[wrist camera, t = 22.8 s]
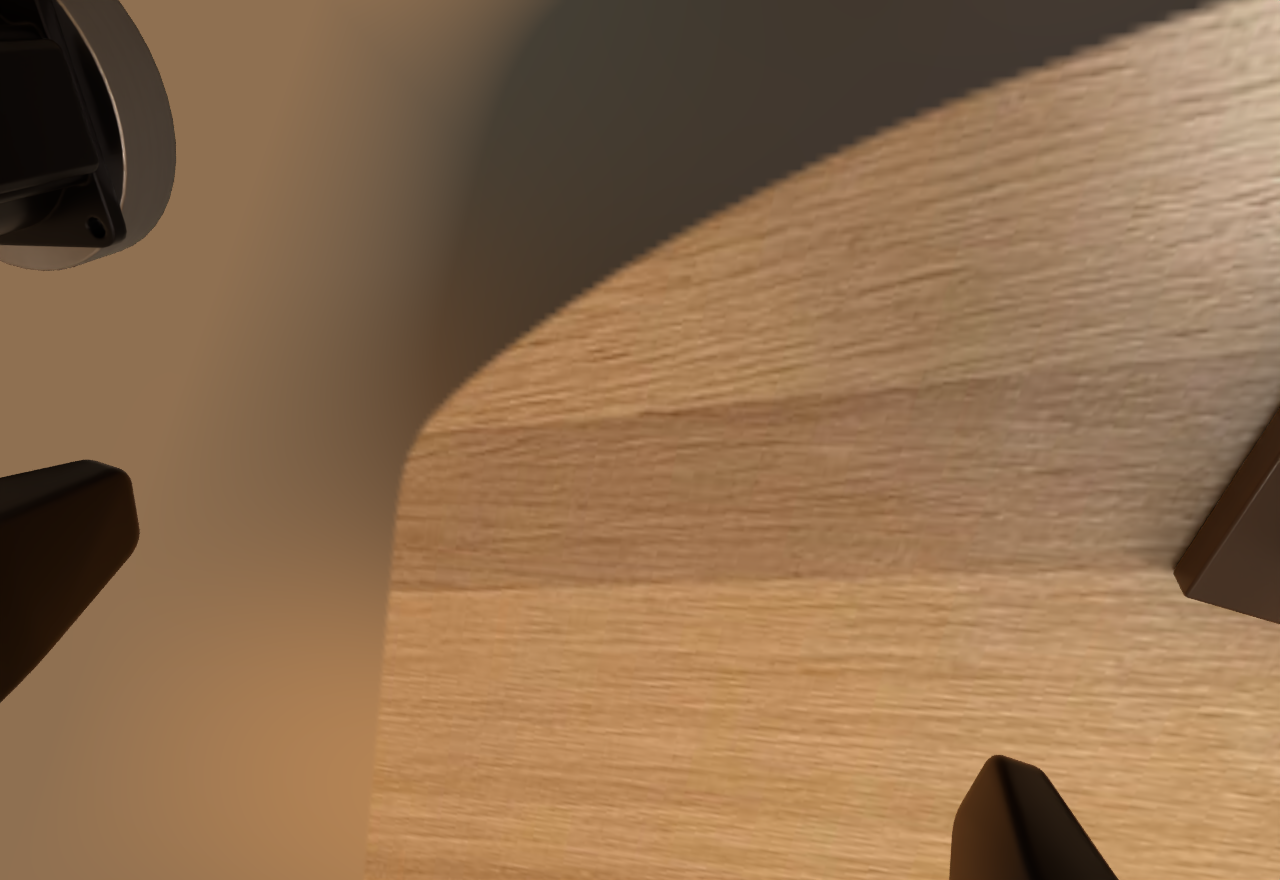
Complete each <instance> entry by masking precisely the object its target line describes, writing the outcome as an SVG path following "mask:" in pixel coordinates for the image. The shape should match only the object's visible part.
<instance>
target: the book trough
mask: <svg viewBox="0 0 1280 880" xmlns="http://www.w3.org/2000/svg"><path fill="white" fill-rule="evenodd" d="M1174 576H1175V578H1176V580H1177V582H1178V584H1179V586H1180V588H1181V590H1182V592H1183V594H1184V595H1185V596H1186V597H1188V598H1191V599H1195V600H1198V601H1201V602H1205V603H1208V604H1212V605H1215V606H1219V607H1222V608H1226V609H1229V610H1233V611H1236V612H1239V613H1243V614H1246V615H1250V616H1253V617H1257V618H1260V619H1264V620H1267V621H1271V622H1274V623H1277V624H1280V408H1279V409H1278V411H1277V412H1276V414H1275V415H1274V417H1273V419H1272V420H1271V422H1270V423H1269V425H1268V426H1267V428H1266V429H1265V431H1264V432H1263V434H1262V435H1261V437H1260V439H1259V440H1258V442H1257V443H1256V445H1255V446H1254V448H1253V449H1252V451H1251V452H1250V454H1249V456H1248V457H1247V459H1246V460H1245V462H1244V463H1243V465H1242V466H1241V468H1240V469H1239V471H1238V472H1237V474H1236V476H1235V477H1234V479H1233V480H1232V482H1231V483H1230V485H1229V486H1228V488H1227V489H1226V491H1225V492H1224V494H1223V496H1222V497H1221V499H1220V500H1219V502H1218V503H1217V505H1216V506H1215V508H1214V509H1213V511H1212V513H1211V514H1210V516H1209V517H1208V519H1207V520H1206V522H1205V523H1204V525H1203V526H1202V528H1201V529H1200V531H1199V533H1198V534H1197V536H1196V537H1195V539H1194V540H1193V542H1192V543H1191V545H1190V546H1189V548H1188V550H1187V551H1186V553H1185V554H1184V556H1183V557H1182V559H1181V560H1180V562H1179V563H1178V565H1177V566H1176V568H1175V570H1174Z"/></svg>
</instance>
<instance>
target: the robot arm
mask: <svg viewBox="0 0 1280 880" xmlns="http://www.w3.org/2000/svg"><path fill="white" fill-rule="evenodd" d="M100 221H101V222H102V224H103V226H104V227H105V230H104V229H103V227H102V225H101V222H100ZM126 233H127V230H126V224H125V221H124V218H123V215H122V212H121V209H120V206H119V203H118V200H117V197H116V193H115V190H114V187H113V184H112V181H111V178H110V175H109V172H108V169H107V166H106V163H105V160H104V157H103V154H102V151H101V148H100V145H99V142H98V139H97V136H96V133H95V130H94V127H93V124H92V121H91V117H90V114H89V111H88V108H87V105H86V102H85V99H84V96H83V93H82V90H81V87H80V84H79V81H78V78H77V75H76V72H75V69H74V66H73V63H72V60H71V57H70V54H69V51H68V48H67V45H66V41H65V38H64V35H63V32H62V29H61V26H60V23H59V20H58V17H57V14H56V11H55V8H54V5H53V2H52V0H0V245H14V246H51V247H87V248H105V247H109V246H112V245H115V244H118V243H121V242H122V241H123V240H124V239H125V238H126ZM139 534H140V533H139V523H138V518H137V512H136V506H135V499H134V494H133V488H132V482H131V480H130V477H129V476H128V475H127V473H126V472H124V471H123V470H122V469H119V468H116V467H113V466H110V465H107V464H104V463H101V462H98V461H93V460H81V461H75V462H70V463H66V464H62V465H57V466H52V467H48V468H43V469H38V470H34V471H29V472H24V473H20V474H15V475H11V476H6V477H2V478H0V702H2V701H3V699H5V697H6V696H8V694H10V693H11V692H12V691H13V690H14V689H15V688H16V687H17V686H18V685H19V684H20V683H21V682H22V681H23V679H24V678H25V677H26V676H27V675H28V674H29V673H30V672H31V671H32V670H33V669H34V668H35V667H36V666H37V665H38V664H39V663H40V661H41V660H42V659H43V658H44V657H45V656H46V655H47V653H48V652H49V651H50V650H51V649H52V648H53V647H54V645H55V644H56V643H57V642H58V641H59V640H60V638H61V637H62V636H63V635H64V634H65V632H66V631H67V630H68V629H69V628H70V626H71V625H72V624H73V623H74V622H75V621H76V620H77V618H78V617H79V616H80V615H81V614H82V612H83V611H84V610H85V609H86V608H87V606H88V605H89V604H90V603H91V602H92V601H93V599H94V598H95V597H96V596H97V595H98V594H99V592H100V591H101V590H102V589H103V588H104V586H105V585H106V584H107V583H108V581H109V580H110V579H111V578H112V577H113V576H114V575H115V574H116V572H117V571H118V570H119V569H120V568H121V566H122V565H123V564H124V563H125V562H126V560H127V559H128V558H129V557H130V556H131V554H132V553H133V551H134V549H135V547H136V546H137V543H138V540H139ZM949 880H1118V878H1117V877H1116V875H1115V874H1114V873H1113V871H1112V870H1111V868H1110V867H1109V865H1108V864H1107V862H1106V861H1105V860H1104V858H1103V857H1102V855H1101V854H1100V852H1099V851H1098V849H1097V848H1096V847H1095V845H1094V844H1093V842H1092V841H1091V839H1090V838H1089V836H1088V835H1087V833H1086V832H1085V831H1084V829H1083V828H1082V826H1081V825H1080V823H1079V822H1078V820H1077V819H1076V818H1075V816H1074V815H1073V813H1072V812H1071V810H1070V809H1069V807H1068V806H1067V805H1066V803H1065V802H1064V800H1063V799H1062V797H1061V796H1060V794H1059V793H1058V791H1057V790H1056V789H1055V787H1054V786H1053V784H1052V783H1051V781H1050V780H1049V778H1048V777H1047V776H1046V775H1045V773H1044V772H1043V771H1042V770H1040V769H1039V768H1037V767H1036V766H1033V765H1030V764H1027V763H1024V762H1021V761H1018V760H1015V759H1012V758H1009V757H1006V756H1003V755H994V756H992V757H991V758H989V759H988V760H987V761H986V763H985V764H984V766H983V768H982V769H981V771H980V773H979V774H978V776H977V778H976V779H975V781H974V783H973V784H972V786H971V788H970V790H969V791H968V793H967V795H966V796H965V798H964V800H963V801H962V803H961V805H960V807H959V809H958V811H957V814H956V817H955V820H954V825H953V831H952V844H951V860H950V876H949Z"/></svg>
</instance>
